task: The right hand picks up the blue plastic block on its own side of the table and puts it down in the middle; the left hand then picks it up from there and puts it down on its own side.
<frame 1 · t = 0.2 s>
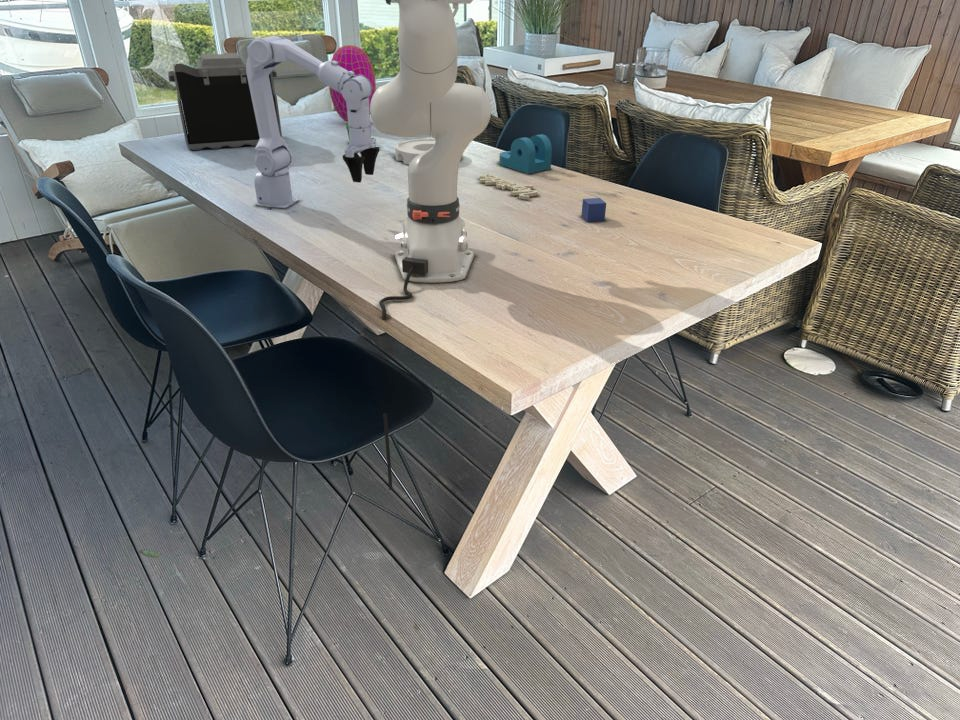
left hand: (363, 178, 186), 10 cm above the table, tool pointing down, fingers open, 7 cm apart
right hand: (431, 24, 166), 48 cm above the table, tool pointing down, fingers open, 8 cm apart
potted flower: (358, 143, 262), on the table
block: (592, 218, 189), on the table
teal clevis bracket: (521, 166, 236), on the table
decorative sign: (509, 187, 214), on the table
ashtray: (428, 158, 244), on the table
electronic device: (234, 141, 262), on the table
decorative egg: (355, 123, 293), on the table
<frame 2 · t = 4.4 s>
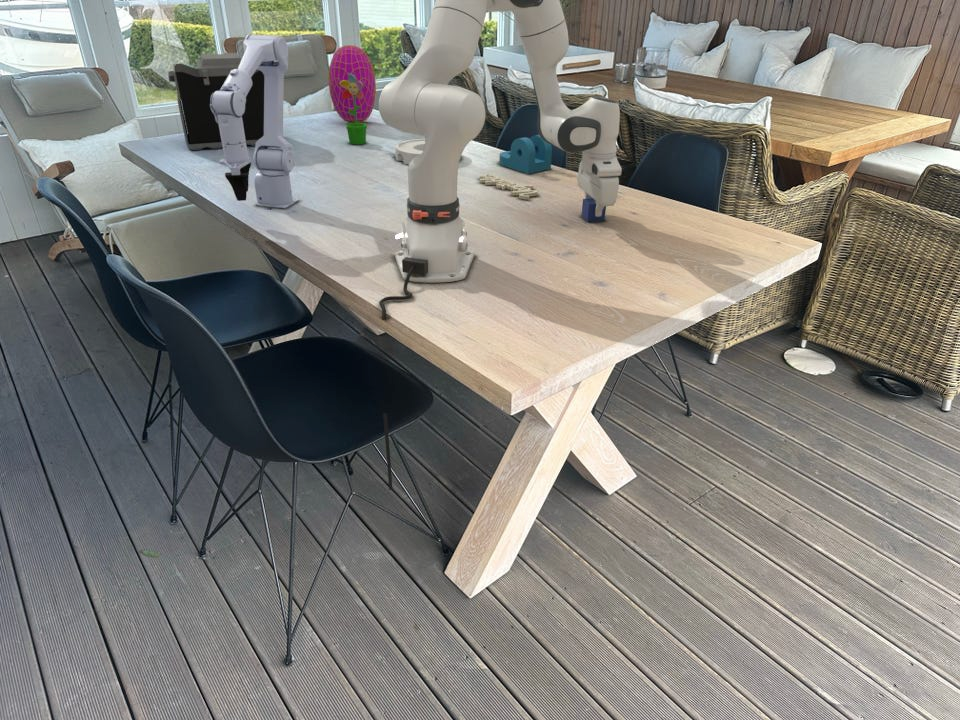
left hand: (242, 195, 178), 8 cm above the table, tool pointing down, fingers open, 7 cm apart
right hand: (593, 212, 188), 2 cm above the table, tool pointing down, fingers closed on block, 5 cm apart
block: (592, 218, 189), on the table, touching right hand
everything else where it was.
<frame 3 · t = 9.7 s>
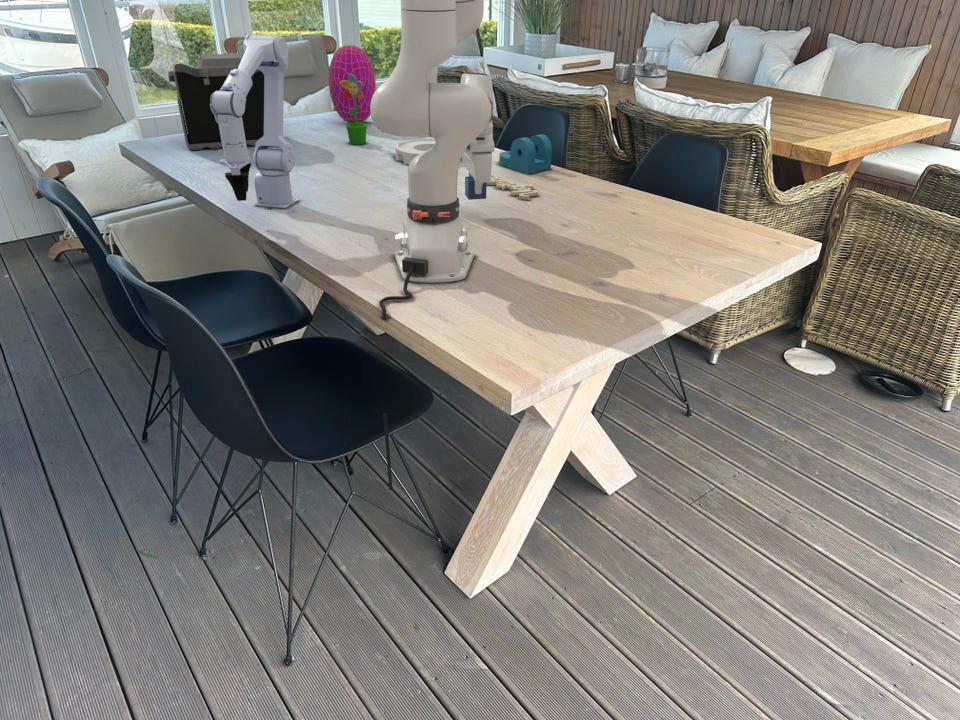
left hand: (242, 195, 178), 8 cm above the table, tool pointing down, fingers open, 7 cm apart
right hand: (475, 190, 187), 7 cm above the table, tool pointing down, fingers closed on block, 5 cm apart
block: (475, 196, 188), point 5 cm above the table, touching right hand
everything else where it was.
when the right hand's fingers open (3 cm above the table, at t = 15.2 s): block drops 1 cm, on the table.
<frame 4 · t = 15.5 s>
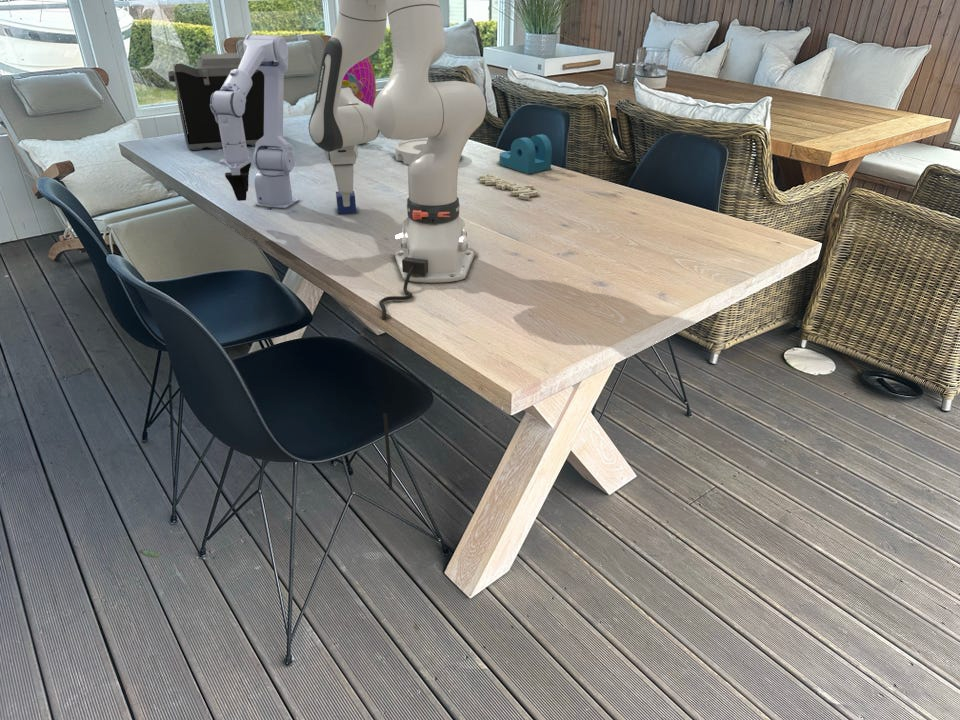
left hand: (242, 195, 178), 8 cm above the table, tool pointing down, fingers open, 7 cm apart
right hand: (345, 200, 191), 3 cm above the table, tool pointing down, fingers open, 8 cm apart
block: (346, 211, 193), on the table
everything else where it was.
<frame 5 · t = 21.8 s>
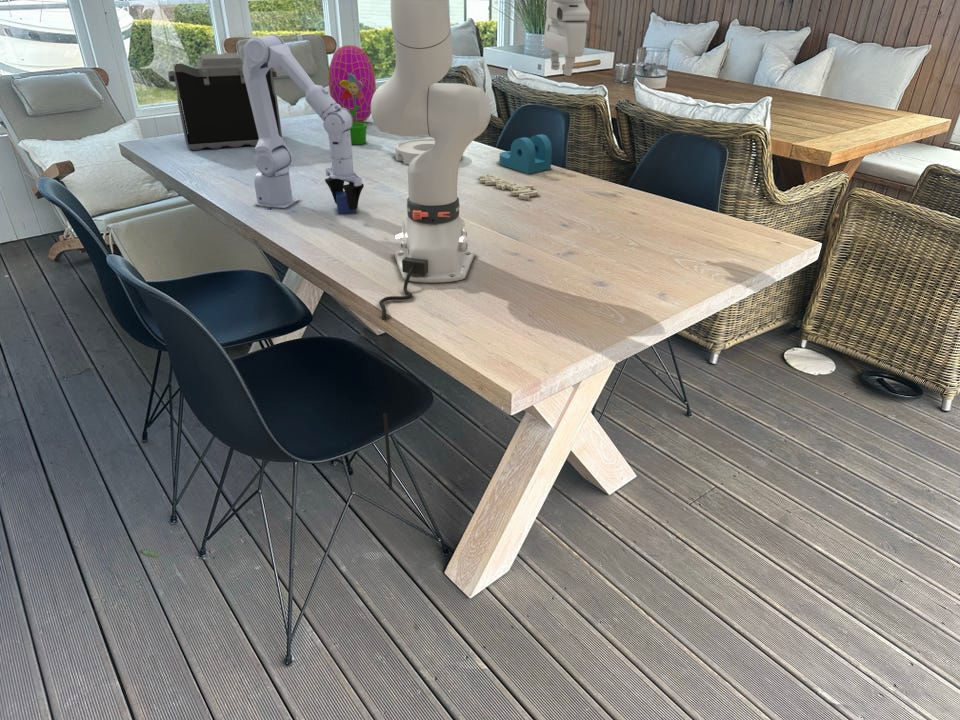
left hand: (346, 206, 192), 1 cm above the table, tool pointing down, fingers closed on block, 6 cm apart
right hand: (561, 72, 170), 38 cm above the table, tool pointing down, fingers open, 8 cm apart
block: (346, 211, 193), on the table, touching left hand
everything else where it was.
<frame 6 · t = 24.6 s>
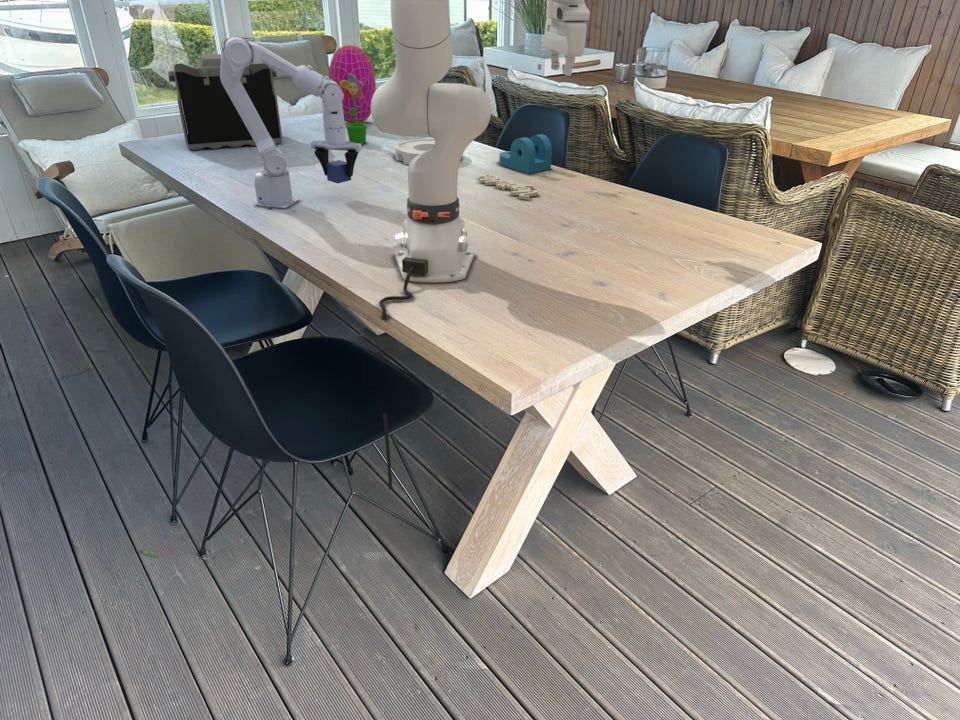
left hand: (338, 175, 199), 7 cm above the table, tool pointing down, fingers closed on block, 6 cm apart
right hand: (561, 72, 170), 38 cm above the table, tool pointing down, fingers open, 8 cm apart
block: (339, 180, 200), point 5 cm above the table, touching left hand
everything else where it was.
when the left hand's fingers open (3 cm above the table, at t = 27.5 s): block drops 1 cm, on the table.
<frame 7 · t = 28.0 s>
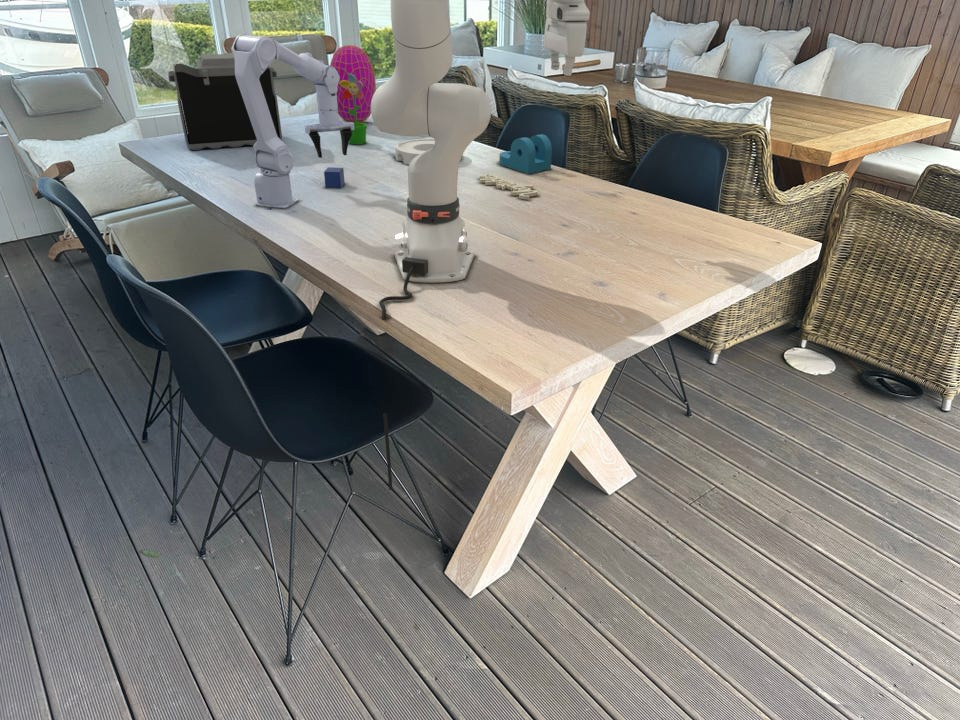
left hand: (332, 155, 209), 9 cm above the table, tool pointing down, fingers open, 7 cm apart
right hand: (561, 72, 170), 38 cm above the table, tool pointing down, fingers open, 8 cm apart
block: (335, 185, 214), on the table
everything else where it was.
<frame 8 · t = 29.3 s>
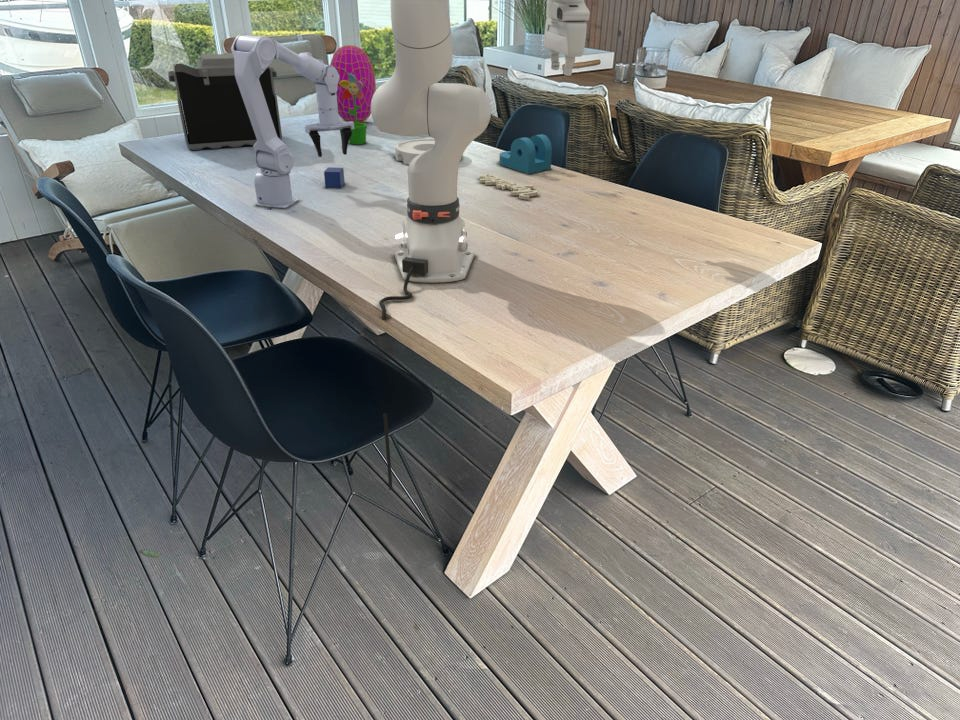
left hand: (332, 155, 209), 9 cm above the table, tool pointing down, fingers open, 7 cm apart
right hand: (561, 72, 170), 38 cm above the table, tool pointing down, fingers open, 8 cm apart
nothing on the table moved.
at the end: block inside the target area (0.0 cm from its centre), on the table; block tilted 0°; the two hands never held the block at the same time; the left hand is holding nothing; the right hand is holding nothing; block at rest at the end (0.0 cm/s) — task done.
